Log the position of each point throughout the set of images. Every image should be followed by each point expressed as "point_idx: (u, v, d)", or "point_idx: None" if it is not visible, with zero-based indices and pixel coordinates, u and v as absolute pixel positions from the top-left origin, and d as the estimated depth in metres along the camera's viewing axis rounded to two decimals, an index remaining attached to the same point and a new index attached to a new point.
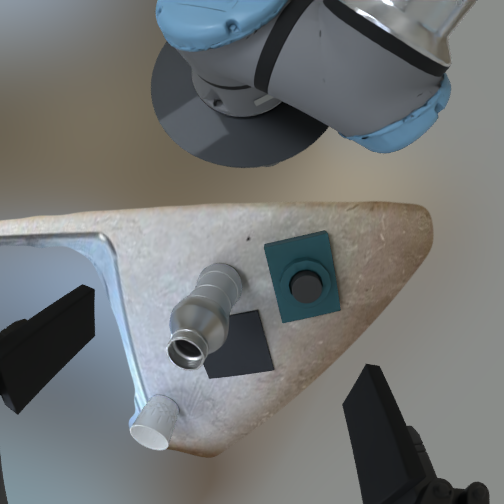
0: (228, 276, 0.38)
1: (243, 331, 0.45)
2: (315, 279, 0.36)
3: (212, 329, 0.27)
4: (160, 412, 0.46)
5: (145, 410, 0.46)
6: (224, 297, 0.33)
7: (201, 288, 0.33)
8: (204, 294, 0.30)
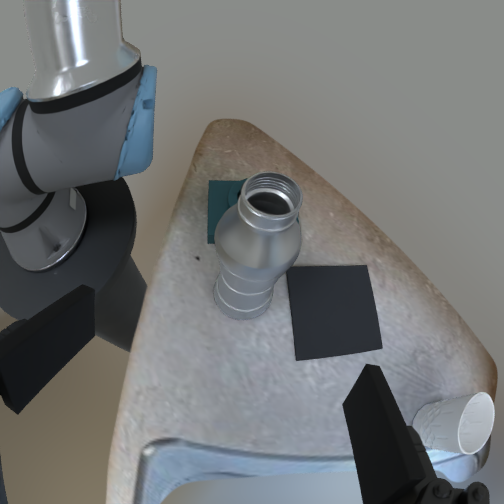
0: None
1: (312, 287, 0.36)
2: None
3: None
4: (436, 415, 0.25)
5: (434, 438, 0.23)
6: None
7: None
8: None
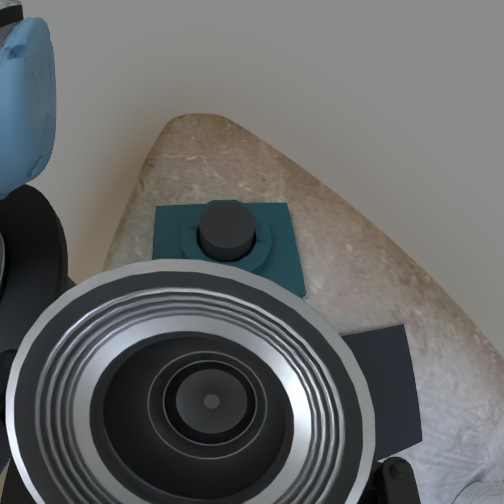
0: None
1: None
2: (210, 208, 0.21)
3: None
4: None
5: None
6: None
7: (138, 403, 0.10)
8: (118, 374, 0.08)
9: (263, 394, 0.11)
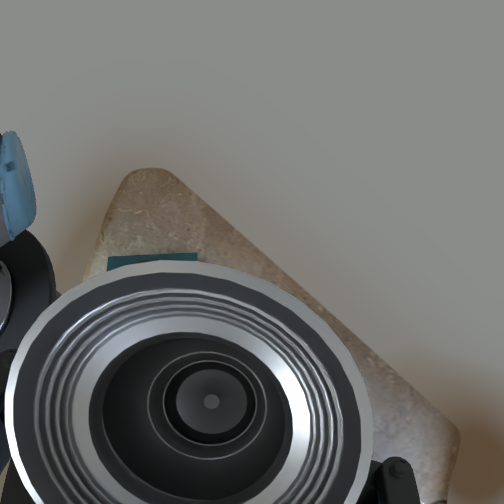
0: None
1: None
2: None
3: None
4: None
5: None
6: None
7: (138, 403, 0.10)
8: (117, 374, 0.08)
9: (263, 394, 0.11)
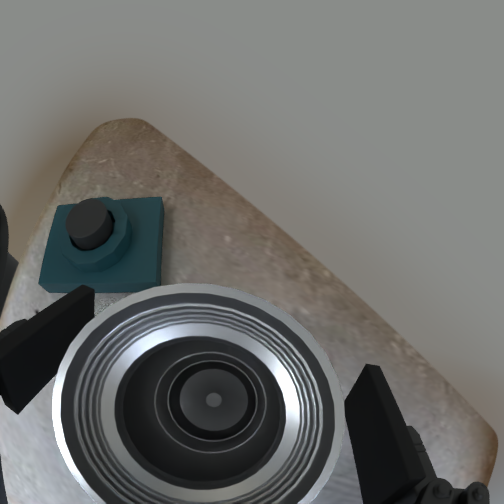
0: None
1: None
2: (77, 205, 0.21)
3: None
4: None
5: None
6: (181, 352, 0.12)
7: None
8: None
9: (263, 392, 0.12)
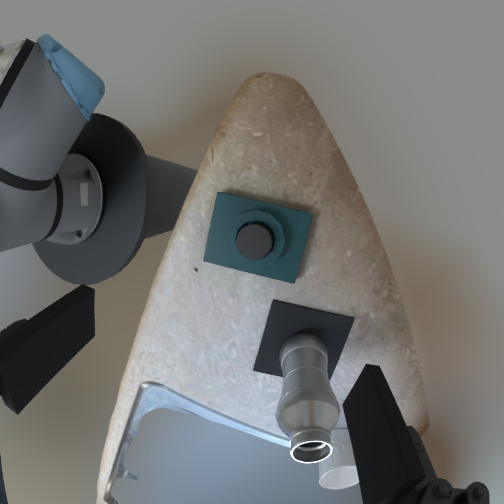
0: (296, 347, 0.34)
1: (289, 325, 0.39)
2: (246, 228, 0.32)
3: (312, 412, 0.23)
4: None
5: None
6: (304, 372, 0.29)
7: (283, 385, 0.29)
8: (285, 392, 0.27)
9: None
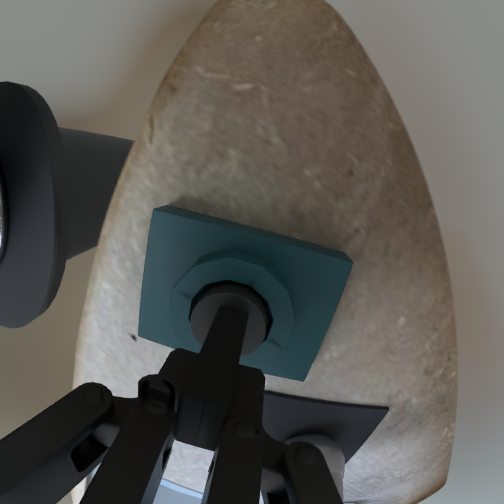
0: None
1: (288, 422, 0.22)
2: (210, 299, 0.14)
3: None
4: None
5: None
6: None
7: None
8: None
9: None
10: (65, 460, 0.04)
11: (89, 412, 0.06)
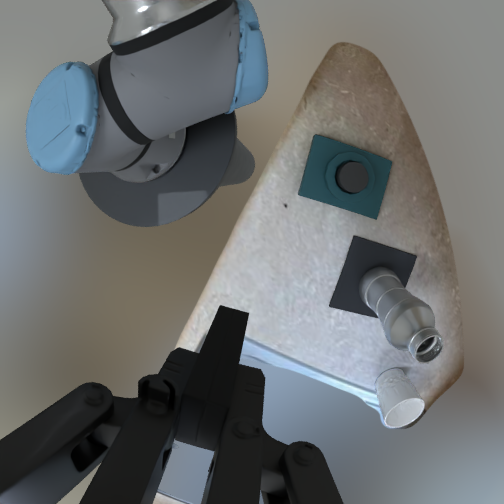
0: (379, 276, 0.38)
1: (366, 260, 0.42)
2: (348, 164, 0.34)
3: (422, 316, 0.26)
4: (391, 386, 0.43)
5: (380, 399, 0.43)
6: (398, 291, 0.32)
7: (381, 305, 0.33)
8: (391, 305, 0.30)
9: None
10: (65, 460, 0.04)
11: (89, 412, 0.06)
